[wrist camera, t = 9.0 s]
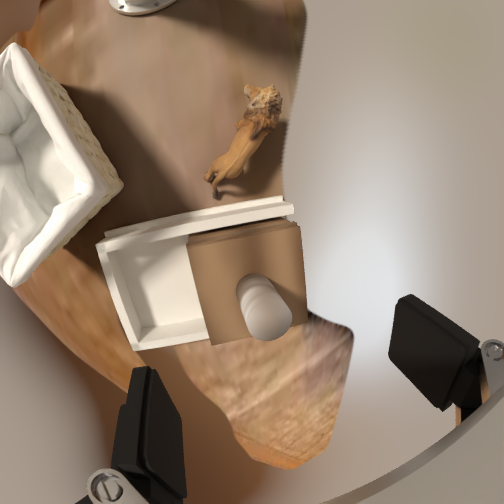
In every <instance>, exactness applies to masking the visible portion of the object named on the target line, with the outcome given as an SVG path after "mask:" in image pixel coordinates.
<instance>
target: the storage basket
mask: <svg viewBox="0 0 504 504" xmlns="http://www.w3.org/2000/svg"><path fill="white" fill-rule="evenodd" d="M123 187H124V184H123V182H122V181H121V179H120V178H119V177H118V174H117V171H116V169H115V168H114V166H113V165H112V164H111V163H110V161H109V159H108V157H107V156H106V155H105V153H104V152H103V150H102V148H101V145H100V143H99V141H98V140H97V138H96V137H95V136H94V135H93V133H92V131H91V129H90V127H89V126H88V124H87V123H86V121H85V120H83V117H82V115H81V113H80V112H79V110H78V109H77V108H76V107H75V106H74V104H73V102H72V101H71V99H70V98H69V96H68V94H67V91H66V90H65V89H64V88H63V87H62V86H61V85H60V84H59V82H58V81H57V80H55V79H54V78H53V77H52V75H51V74H50V73H49V72H48V71H47V70H45V69H44V68H43V67H42V66H41V65H39V63H37V62H36V60H35V59H34V58H32V56H31V55H30V53H29V52H28V50H26V49H25V48H22V47H21V46H19V45H18V44H17V43H12V44H10V45H9V46H8V47H7V48H6V49H5V50H4V52H3V53H2V54H1V55H0V275H1V276H2V278H3V279H4V280H5V281H6V283H7V284H8V285H10V286H11V287H14V288H15V287H17V286H19V285H20V284H22V283H24V282H26V281H27V280H28V279H29V277H30V276H31V274H32V273H33V272H34V270H35V269H36V268H37V267H38V266H39V265H40V264H41V263H42V262H43V261H45V259H47V258H48V257H50V256H51V255H52V254H54V253H55V252H56V251H58V250H59V249H60V248H61V247H63V246H64V245H66V244H67V243H68V242H69V240H70V239H71V238H72V237H74V236H75V235H76V233H77V232H78V231H79V230H80V229H81V228H82V227H84V225H85V224H86V223H87V222H88V220H89V219H91V218H93V217H94V216H95V215H96V214H97V213H98V212H99V211H100V209H101V208H102V207H103V206H105V205H106V204H107V203H108V202H109V201H110V200H111V199H112V198H113V197H115V196H116V195H117V194H118V193H119V192H120V191H121V189H122V188H123Z"/></svg>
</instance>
